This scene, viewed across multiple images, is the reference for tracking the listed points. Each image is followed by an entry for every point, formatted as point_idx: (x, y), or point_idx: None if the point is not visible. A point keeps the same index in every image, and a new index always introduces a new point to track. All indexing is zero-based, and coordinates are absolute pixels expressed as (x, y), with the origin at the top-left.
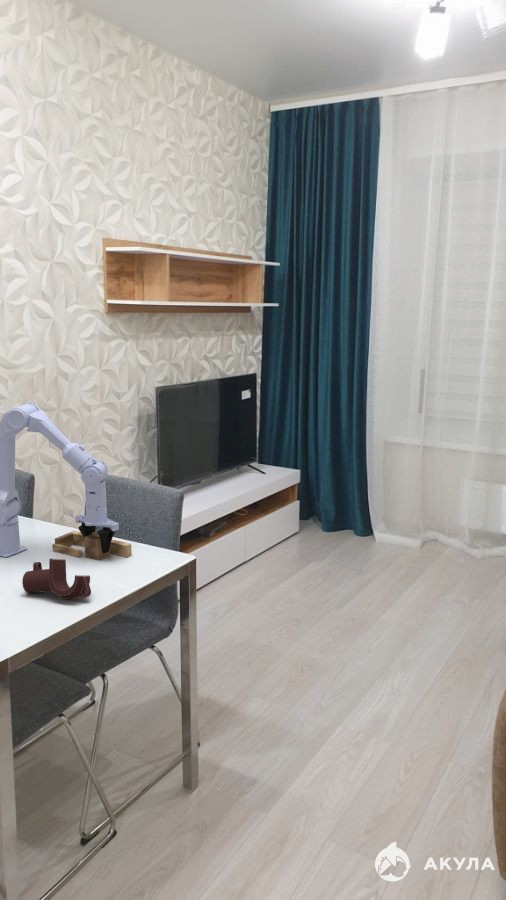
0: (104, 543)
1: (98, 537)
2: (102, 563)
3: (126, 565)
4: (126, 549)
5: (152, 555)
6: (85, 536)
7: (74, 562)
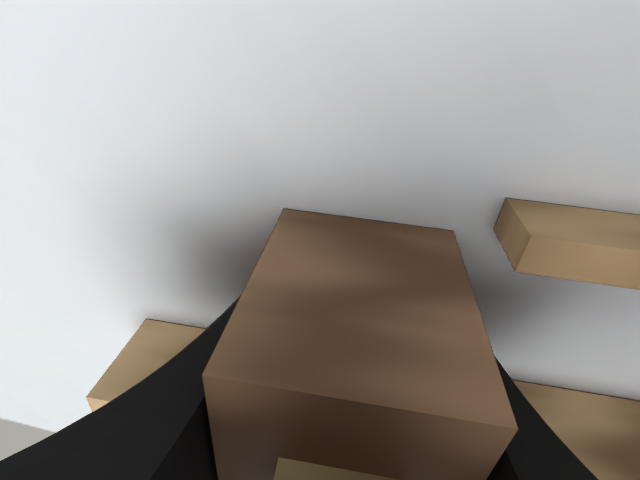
0: (175, 359)
1: (276, 447)
2: (202, 161)
3: (18, 201)
4: (110, 369)
5: (64, 378)
6: (523, 455)
7: (497, 53)
